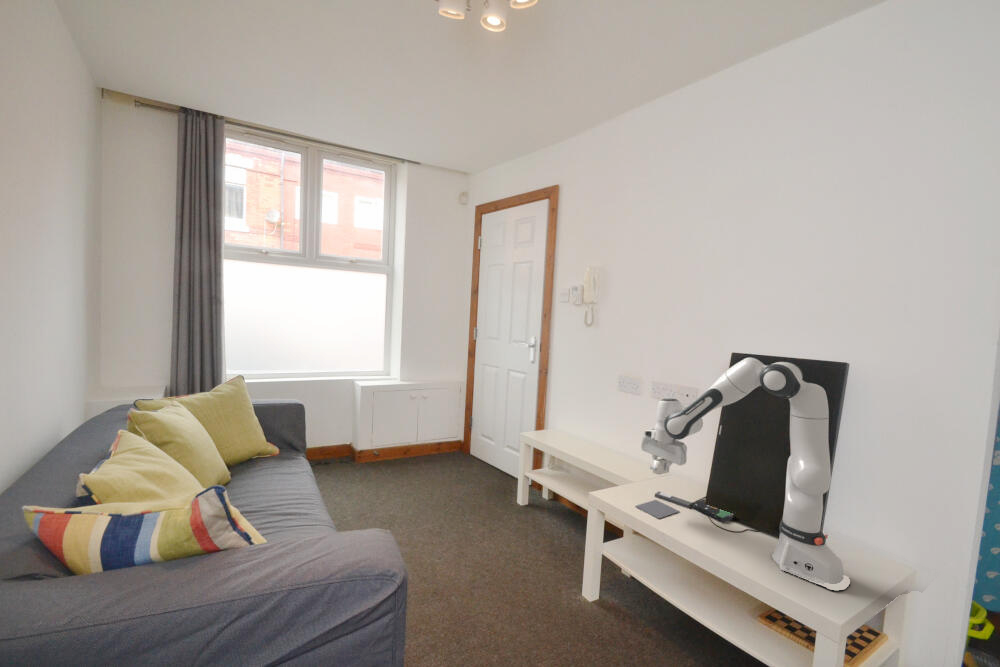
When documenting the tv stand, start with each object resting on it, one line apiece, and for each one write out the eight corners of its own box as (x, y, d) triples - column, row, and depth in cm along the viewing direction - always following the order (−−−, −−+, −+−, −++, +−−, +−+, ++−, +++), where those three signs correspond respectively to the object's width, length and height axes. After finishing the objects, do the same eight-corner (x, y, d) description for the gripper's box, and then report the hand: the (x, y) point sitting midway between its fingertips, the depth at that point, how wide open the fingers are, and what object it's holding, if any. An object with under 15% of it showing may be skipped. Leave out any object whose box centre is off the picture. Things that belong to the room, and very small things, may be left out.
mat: (679, 512, 195) (679, 511, 195) (658, 519, 187) (658, 518, 187) (655, 500, 205) (655, 499, 205) (635, 506, 197) (635, 505, 197)
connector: (670, 471, 196) (671, 460, 195) (655, 475, 190) (656, 464, 189) (663, 469, 199) (664, 457, 198) (647, 472, 193) (649, 461, 192)
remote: (691, 506, 203) (692, 501, 203) (688, 509, 200) (688, 504, 200) (658, 495, 213) (658, 490, 212) (654, 497, 209) (655, 493, 209)
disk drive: (689, 509, 201) (721, 524, 188) (690, 502, 200) (722, 517, 188) (703, 504, 206) (735, 518, 194) (704, 498, 206) (736, 512, 194)
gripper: (691, 442, 187) (687, 475, 188) (649, 428, 204) (646, 458, 205) (682, 444, 183) (678, 478, 184) (640, 429, 200) (637, 460, 201)
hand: (661, 467), depth 195 cm, fingers closed on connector, 3 cm apart
